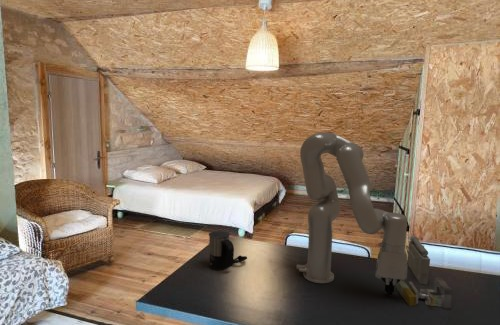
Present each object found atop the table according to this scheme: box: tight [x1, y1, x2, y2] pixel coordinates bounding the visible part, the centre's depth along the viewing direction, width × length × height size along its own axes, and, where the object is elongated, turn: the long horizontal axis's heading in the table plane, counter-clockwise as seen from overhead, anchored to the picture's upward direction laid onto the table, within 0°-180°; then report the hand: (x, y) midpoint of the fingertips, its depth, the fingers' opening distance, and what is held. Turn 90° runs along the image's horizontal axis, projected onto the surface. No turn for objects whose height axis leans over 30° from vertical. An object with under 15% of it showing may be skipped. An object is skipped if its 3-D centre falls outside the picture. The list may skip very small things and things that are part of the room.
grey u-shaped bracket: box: [419, 276, 453, 309], centre depth 122 cm, size 8×9×7 cm
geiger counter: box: [405, 235, 431, 285], centre depth 145 cm, size 14×6×25 cm
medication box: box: [396, 281, 417, 307], centre depth 124 cm, size 12×3×4 cm, turn 177°
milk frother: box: [208, 230, 248, 271], centre depth 147 cm, size 14×16×15 cm
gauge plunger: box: [407, 281, 440, 307], centre depth 121 cm, size 11×10×4 cm
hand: (389, 293), depth 124 cm, fingers closed
